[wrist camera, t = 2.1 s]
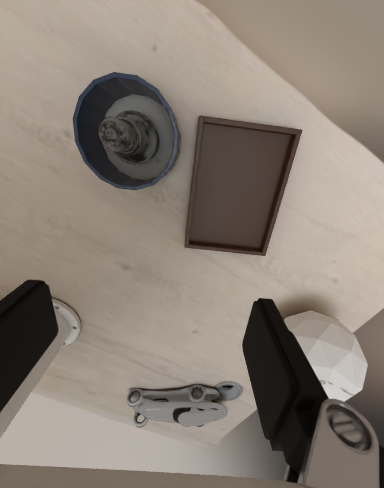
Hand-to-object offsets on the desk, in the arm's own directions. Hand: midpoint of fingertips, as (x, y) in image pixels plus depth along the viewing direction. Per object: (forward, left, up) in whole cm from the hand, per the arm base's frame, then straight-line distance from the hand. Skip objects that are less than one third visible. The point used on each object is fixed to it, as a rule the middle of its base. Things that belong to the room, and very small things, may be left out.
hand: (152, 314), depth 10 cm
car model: (+4, -50, -25) cm, 56 cm away
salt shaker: (-6, +8, -25) cm, 27 cm away
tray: (+8, +2, -24) cm, 26 cm away
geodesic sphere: (+26, -22, -25) cm, 42 cm away
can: (-6, +8, -24) cm, 26 cm away
